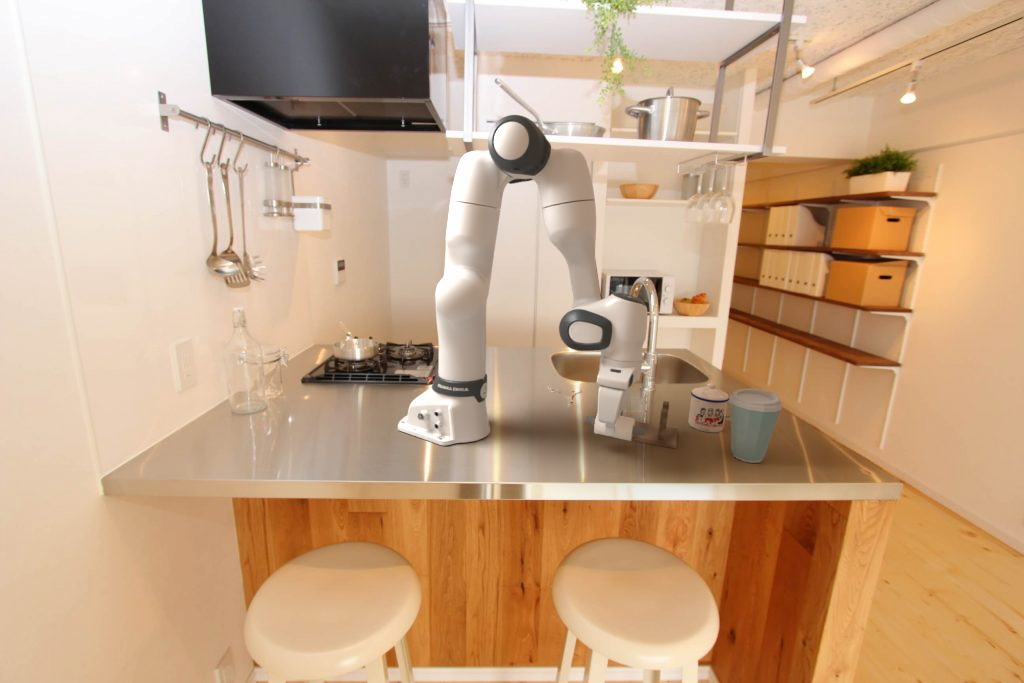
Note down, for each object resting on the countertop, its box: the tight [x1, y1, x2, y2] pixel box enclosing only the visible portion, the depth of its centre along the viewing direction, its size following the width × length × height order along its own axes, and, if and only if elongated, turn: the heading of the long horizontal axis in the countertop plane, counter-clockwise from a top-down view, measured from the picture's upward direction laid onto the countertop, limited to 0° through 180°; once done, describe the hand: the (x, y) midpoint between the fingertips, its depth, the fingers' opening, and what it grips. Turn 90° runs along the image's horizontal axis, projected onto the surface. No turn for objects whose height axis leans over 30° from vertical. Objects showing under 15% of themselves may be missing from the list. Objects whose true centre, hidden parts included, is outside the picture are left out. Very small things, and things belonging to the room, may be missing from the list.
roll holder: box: [620, 400, 679, 449], centre depth 117 cm, size 18×10×8 cm, turn 69°
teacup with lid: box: [687, 382, 731, 433], centre depth 123 cm, size 12×9×12 cm
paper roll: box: [584, 412, 645, 442], centre depth 106 cm, size 13×5×5 cm
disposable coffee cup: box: [728, 388, 783, 464], centre depth 107 cm, size 11×11×15 cm
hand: (612, 428), depth 106 cm, fingers closed on paper roll, 5 cm apart
